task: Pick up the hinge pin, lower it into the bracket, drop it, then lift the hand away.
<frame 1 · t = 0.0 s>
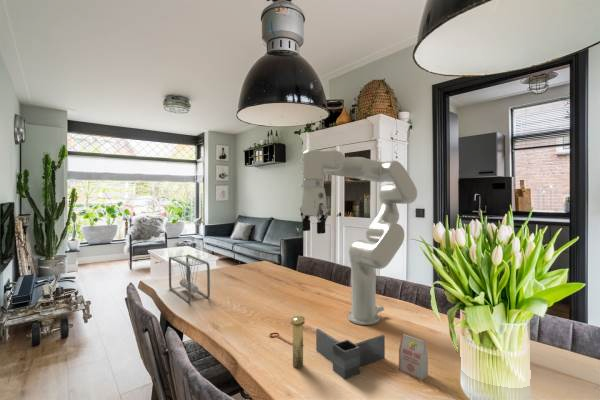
hand: (313, 232, 114), 37 cm above the table, tool pointing down, fingers open, 9 cm apart
hinge pin: (298, 365, 93), on the table
tea bag: (413, 373, 89), on the table
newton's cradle: (188, 294, 161), on the table
bracket: (346, 371, 89), on the table
key: (287, 341, 109), on the table
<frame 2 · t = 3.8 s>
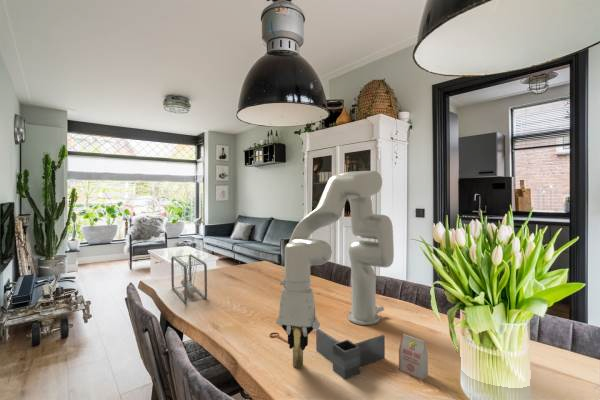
hand: (297, 346, 93), 6 cm above the table, tool pointing down, fingers closed on hinge pin, 3 cm apart
hinge pin: (298, 365, 93), on the table, touching gripper
when the fingers open (9 cm above the table, at t = 9.3 s): hinge pin drops 3 cm, resting in bracket.
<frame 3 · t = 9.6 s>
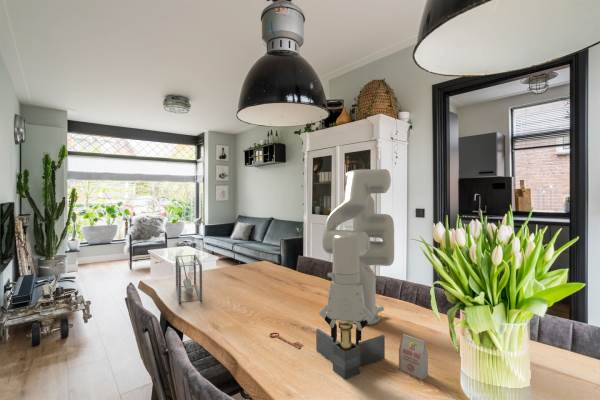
hand: (346, 340, 89), 9 cm above the table, tool pointing down, fingers open, 5 cm apart
hinge pin: (346, 371, 89), resting in bracket
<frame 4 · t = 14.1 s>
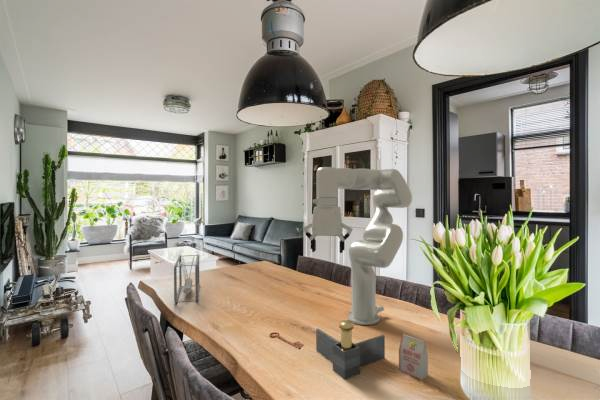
hand: (327, 251, 110), 30 cm above the table, tool pointing down, fingers open, 9 cm apart
at the end: hinge pin 0.0 cm off-centre on the bracket, point 0.0 cm above the bracket's base; hinge pin tilted 0°; the gripper is holding nothing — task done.
